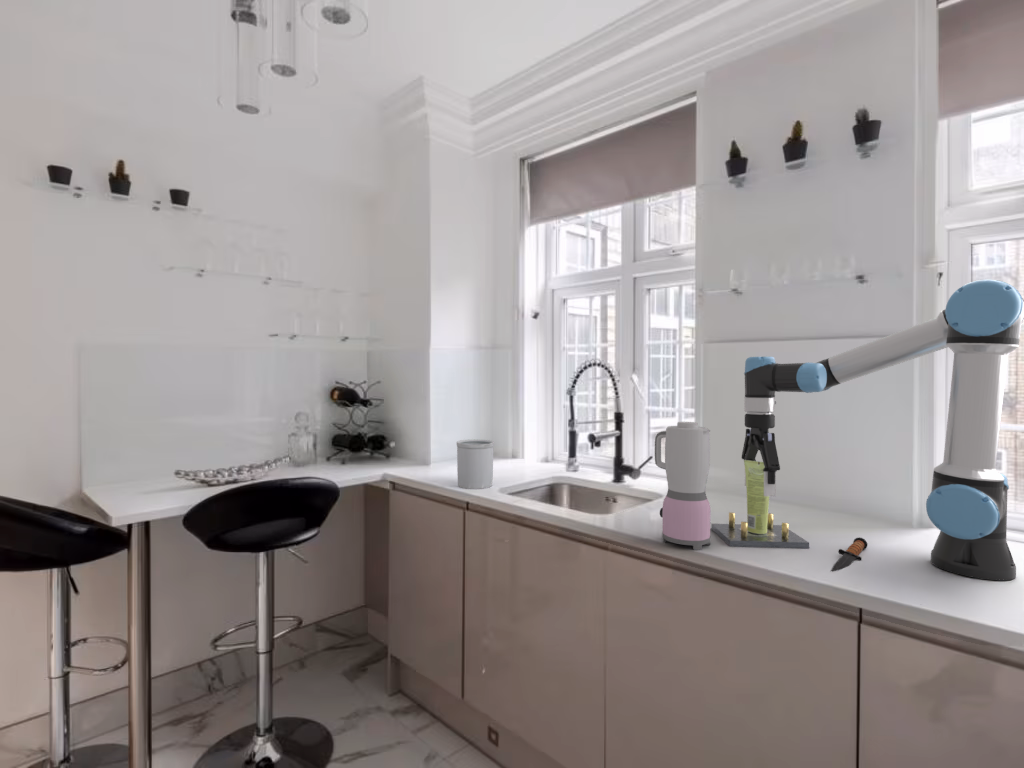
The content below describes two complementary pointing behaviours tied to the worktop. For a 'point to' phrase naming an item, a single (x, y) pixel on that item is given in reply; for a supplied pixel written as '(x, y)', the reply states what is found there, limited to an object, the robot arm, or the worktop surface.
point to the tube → (756, 497)
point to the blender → (685, 484)
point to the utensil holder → (475, 463)
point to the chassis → (758, 535)
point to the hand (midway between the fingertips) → (759, 490)
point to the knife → (850, 554)
